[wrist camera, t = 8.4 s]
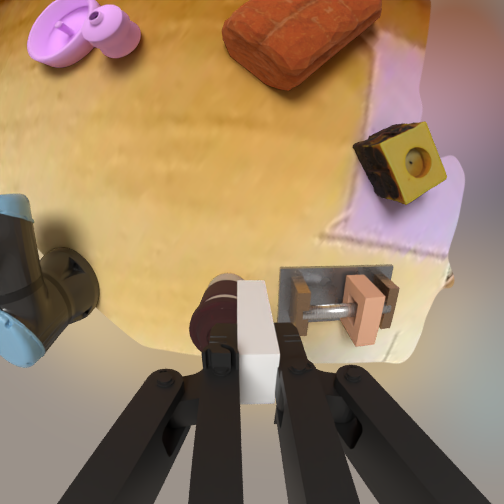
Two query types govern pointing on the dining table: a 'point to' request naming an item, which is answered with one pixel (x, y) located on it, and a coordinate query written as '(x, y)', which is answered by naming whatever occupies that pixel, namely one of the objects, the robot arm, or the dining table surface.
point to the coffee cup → (215, 308)
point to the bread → (294, 35)
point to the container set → (80, 32)
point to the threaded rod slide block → (329, 293)
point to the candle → (401, 161)
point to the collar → (363, 309)
